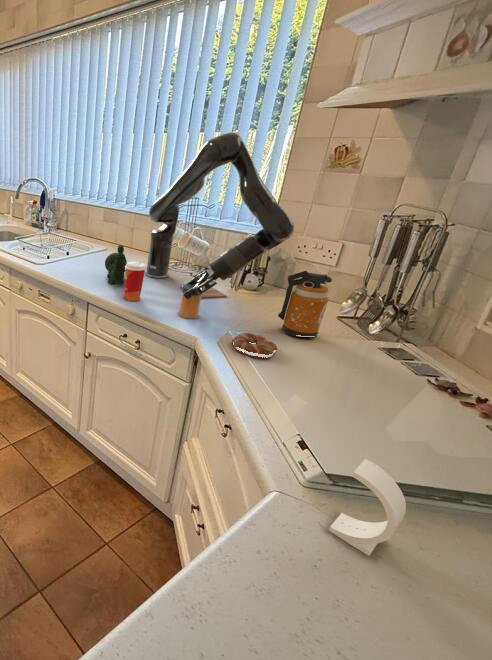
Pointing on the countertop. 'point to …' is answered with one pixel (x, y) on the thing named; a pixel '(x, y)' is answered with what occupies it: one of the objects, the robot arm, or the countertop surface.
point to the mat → (212, 293)
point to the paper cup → (133, 280)
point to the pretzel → (260, 346)
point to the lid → (188, 288)
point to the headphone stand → (366, 532)
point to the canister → (305, 304)
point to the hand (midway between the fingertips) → (184, 292)
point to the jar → (190, 306)
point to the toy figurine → (116, 266)
